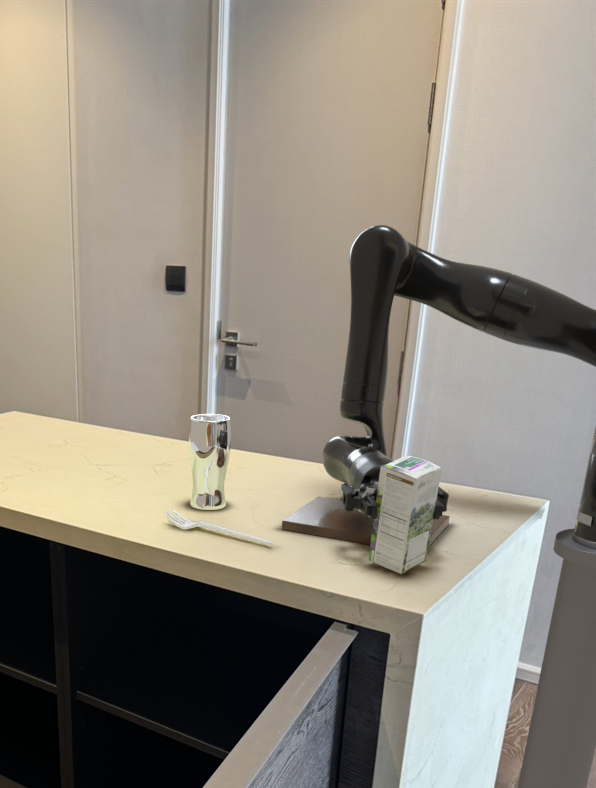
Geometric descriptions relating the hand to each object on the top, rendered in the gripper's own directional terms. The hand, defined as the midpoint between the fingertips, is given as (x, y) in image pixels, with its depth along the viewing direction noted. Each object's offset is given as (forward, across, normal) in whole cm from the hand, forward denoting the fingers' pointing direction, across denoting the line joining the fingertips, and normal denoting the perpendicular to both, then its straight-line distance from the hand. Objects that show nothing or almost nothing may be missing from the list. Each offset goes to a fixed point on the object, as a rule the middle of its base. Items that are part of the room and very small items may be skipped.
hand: (406, 512), depth 116 cm
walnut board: (-19, 0, +8) cm, 21 cm away
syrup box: (-2, 0, +8) cm, 8 cm away
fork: (-16, -24, +8) cm, 30 cm away
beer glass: (-31, -25, +8) cm, 41 cm away
